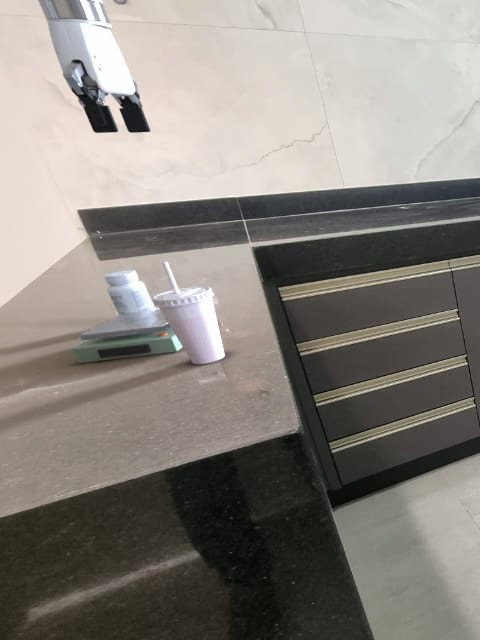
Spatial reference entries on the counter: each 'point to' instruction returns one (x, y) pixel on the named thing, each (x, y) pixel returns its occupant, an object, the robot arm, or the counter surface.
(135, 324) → the pan
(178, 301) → the smoothie
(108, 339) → the scale
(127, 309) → the pill bottle
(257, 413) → the counter surface
